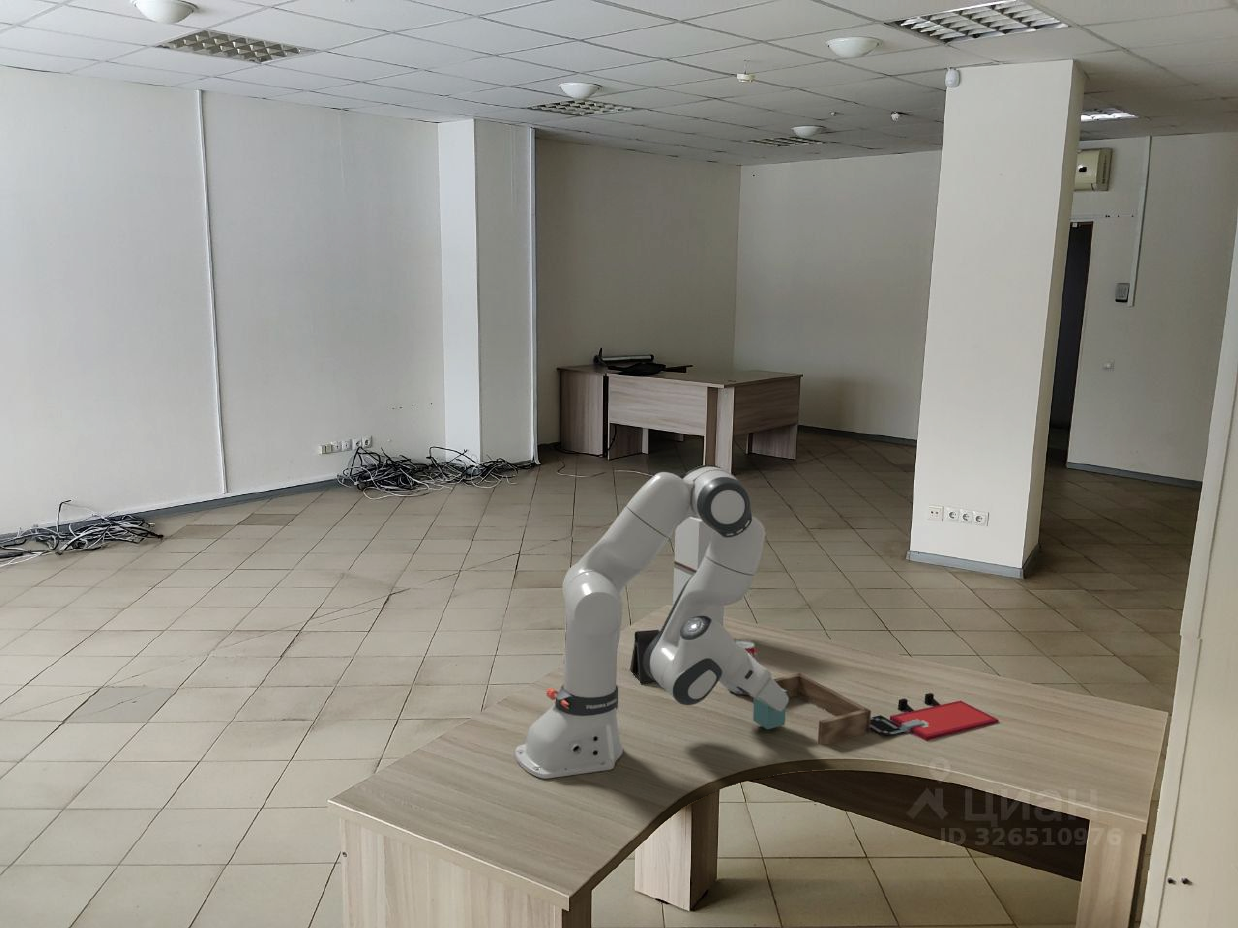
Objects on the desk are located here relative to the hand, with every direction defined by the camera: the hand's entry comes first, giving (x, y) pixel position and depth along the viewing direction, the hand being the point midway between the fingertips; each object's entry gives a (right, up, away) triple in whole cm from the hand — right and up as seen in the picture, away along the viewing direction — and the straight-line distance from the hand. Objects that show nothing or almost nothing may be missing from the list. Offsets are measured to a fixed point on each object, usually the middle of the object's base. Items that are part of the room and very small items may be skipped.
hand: (768, 702), depth 213 cm
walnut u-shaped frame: (+10, -5, +7) cm, 14 cm away
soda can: (-4, -3, +21) cm, 22 cm away
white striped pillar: (-11, +4, +59) cm, 60 cm away
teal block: (0, -5, +1) cm, 5 cm away
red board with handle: (+37, -7, +7) cm, 38 cm away
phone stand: (-26, -1, +29) cm, 39 cm away
